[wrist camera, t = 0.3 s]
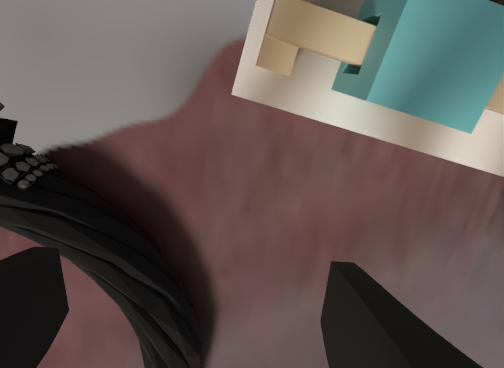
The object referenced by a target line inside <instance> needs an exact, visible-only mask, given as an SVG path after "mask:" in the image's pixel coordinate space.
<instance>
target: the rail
mask: <svg viewBox="0 0 504 368" xmlns="http://www.w3.org/2000/svg"><path fill="white" fill-rule="evenodd" d="M365 1H367V0H256V3H255V7H254V11H253V14H252V18H251V22H250V27H249V30H248V33H247V37H246V41H245V45H244V49H243V52H242V56H241V60H240V64H239V67H238V71H237V75H236V79H235V83H234V86H233V90H232V95H235V96H238V97H242V98H245V99H248V100H252V101H255V102H258V103H261V104H265V105H268V106H271V107H275V108H278V109H281V110H285V111H288V112H291V113H295V114H298V115H301V116H304V117H308V118H311V119H314V120H318V121H321V122H324V123H328V124H331V125H334V126H337V127H341V128H344V129H347V130H351V131H354V132H357V133H361V134H364V135H367V136H371V137H374V138H377V139H380V140H384V141H387V142H390V143H394V144H397V145H400V146H404V147H407V148H410V149H413V150H417V151H420V152H423V153H427V154H430V155H433V156H437V157H440V158H443V159H447V160H450V161H453V162H456V163H460V164H463V165H466V166H470V167H473V168H476V169H480V170H483V171H486V172H489V173H493V174H496V175H499V176H503V177H504V74H503V76H502V78H501V80H500V82H499V84H498V86H497V87H496V89H495V91H494V93H493V95H492V97H491V98H490V100H489V102H488V104H487V106H486V108H485V109H484V111H483V113H482V115H481V117H480V119H479V121H478V122H477V124H476V126H475V128H474V130H473V132H472V133H471V134H469V133H466V132H463V131H460V130H457V129H454V128H450V127H447V126H444V125H441V124H438V123H435V122H431V121H428V120H425V119H422V118H419V117H416V116H412V115H409V114H406V113H403V112H400V111H397V110H393V109H390V108H387V107H384V106H381V105H378V104H374V103H371V102H368V101H365V100H362V99H359V98H356V97H353V96H350V95H347V94H343V93H340V92H337V91H334V90H331V88H332V86H333V83H334V80H335V78H336V75H337V72H338V69H339V67H340V64H341V62H344V63H347V64H351V65H354V66H357V67H360V68H361V66H362V64H363V61H364V58H365V56H366V53H367V51H368V48H369V46H370V43H371V41H372V38H373V35H374V33H375V30H376V28H377V26H374V25H371V24H368V23H366V22H363V21H360V20H357V18H358V15H359V12H360V10H361V7H362V4H363V2H365Z"/></svg>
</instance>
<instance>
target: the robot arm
mask: <svg viewBox="0 0 504 368" xmlns="http://www.w3.org/2000/svg"><path fill="white" fill-rule="evenodd" d="M68 311H69V307H68V302H67V296H66V290H65V284H64V279H63V273H62V267H61V261H60V255H59V250H58V248H51V247H32V248H29V249H27V250H24V251H21V252H19V253H16V254H14V255H12V256H9V257H7V258H5V259H2V260H0V368H36V367H37V366H38V365H39V363H40V362H41V360H42V359H43V357H44V356H45V354H46V353H47V351H48V350H49V348H50V346H51V344H52V342H53V341H54V339H55V337H56V335H57V333H58V331H59V329H60V327H61V325H62V323H63V321H64V319H65V317H66V315H67V313H68ZM320 322H321V328H322V334H323V339H324V345H325V350H326V355H327V360H328V364H329V367H330V368H483V367H481V366H480V365H478V364H477V363H476V362H474V361H473V360H472V359H470V358H469V357H467V356H466V355H465V354H463V353H462V352H461V351H460V350H458V349H457V348H456V347H454V346H453V345H452V344H451V343H449V342H448V341H447V340H445V339H444V338H443V337H441V336H440V335H439V334H438V333H436V332H435V331H434V330H433V329H431V328H430V327H429V326H428V325H426V324H425V323H424V322H423V321H422V320H420V319H419V318H418V317H417V316H416V315H414V314H413V313H412V312H411V311H410V310H408V309H407V308H406V307H405V306H404V305H403V304H401V303H400V302H399V301H398V300H397V299H396V298H394V297H393V296H392V295H391V294H390V293H389V292H388V291H386V290H385V289H384V288H383V287H382V286H381V285H380V284H378V283H377V282H376V281H375V280H374V279H373V278H372V277H370V276H369V275H368V274H367V273H366V272H365V271H364V270H362V269H361V268H360V267H359V266H357V265H356V264H355V263H351V262H331V266H330V271H329V277H328V282H327V288H326V293H325V299H324V304H323V310H322V315H321V321H320Z"/></svg>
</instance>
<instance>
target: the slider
mask: <svg viewBox="0 0 504 368" xmlns="http://www.w3.org/2000/svg"><path fill="white" fill-rule="evenodd" d="M357 20H360V21H363V22H366V23H368V24H371V25H374V26H377V28H376V30H375V33H374V35H373V38H372V41H371V43H370V46H369V48H368V51H367V53H366V56H365V58H364V61H363V64H362V66H361V68H360V67H357V66H354V65H351V64H347V63H344V62H341V64H340V67H339V69H338V72H337V75H336V78H335V80H334V83H333V86H332V88H331V90H334V91H337V92H340V93H343V94H347V95H350V96H353V97H356V98H359V99H362V100H365V101H368V102H371V103H374V104H378V105H381V106H384V107H387V108H390V109H393V110H397V111H400V112H403V113H406V114H409V115H412V116H416V117H419V118H422V119H425V120H428V121H431V122H435V123H438V124H441V125H444V126H447V127H450V128H454V129H457V130H460V131H463V132H466V133H469V134H471V133H472V132H473V130H474V128H475V126H476V124H477V122H478V121H479V119H480V117H481V115H482V113H483V111H484V109H485V108H486V106H487V104H488V102H489V100H490V98H491V97H492V95H493V93H494V91H495V89H496V87H497V86H498V84H499V82H500V80H501V78H502V76H503V74H504V6H503V5H500V4H497V3H495V2H492V1H489V0H367V1H365V2H363V4H362V7H361V10H360V12H359V15H358V18H357Z"/></svg>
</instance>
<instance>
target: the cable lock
mask: <svg viewBox="0 0 504 368" xmlns="http://www.w3.org/2000/svg"><path fill="white" fill-rule="evenodd" d="M3 108H4V105H2V104H1V103H0V111H1V110H2V109H3ZM17 122H18V121H15V120H10V119H5V118H0V226H1V227H3V228H6V229H8V230H10V231H13V232H15V233H18V234H20V235H22V236H25V237H27V238H29V239H31V240H33V241H35V242H37V243H39V244H41V245H42V246H44V247H51V248H58V250H59V255H61V256H63V257H65V258H67V259H69V260H70V261H71V262H72V263H74V264H75V265H76V266H77V267H79V268H80V269H81V270H82V271H84V272H85V273H86V274H87V275H89V276H90V277H91V278H92V279H93V280H94V281H95V282H96V283H97V284H98V285H99V286H100V287H101V288H102V289H103V290H104V291H105V292H106V293H107V294H108V295H109V296H110V297H111V298H112V299H113V300H114V301H115V302H116V303H117V304H118V305H119V307H120V308H121V310H122V312H123V313H124V315H125V316H126V318H127V319H128V321H129V322H130V324H131V325H132V327H133V329H134V331H135V333H136V335H137V337H138V339H139V343H140V348H141V352H142V357H143V361H144V366H145V368H200V356H199V355H200V350H201V346H202V343H201V339H200V335H199V331H198V327H197V323H196V319H195V315H194V312H193V311H192V304H191V302H190V300H189V298H188V296H187V293H186V291H185V289H184V287H183V285H182V283H181V281H180V279H179V277H178V276H177V275H176V274H175V273H174V271H173V270H172V269H171V268H170V267H169V266H168V264H167V263H166V262H165V261H164V260H163V258H162V256H161V254H160V252H159V251H158V249H157V247H156V245H155V243H154V241H153V240H152V239H151V238H150V237H149V236H148V235H147V234H145V233H144V232H143V231H142V230H141V229H140V228H139V227H138V226H136V225H135V224H134V223H133V222H132V221H131V220H129V219H128V218H127V217H126V216H125V215H124V214H122V213H121V212H119V211H118V210H116V209H115V208H114V207H112V206H111V205H109V204H108V203H106V202H105V201H103V200H102V199H101V198H99V197H98V196H97V195H96V194H95V193H94V192H92V191H91V190H90V189H88V188H86V187H84V186H82V185H81V184H79V183H77V182H75V181H73V180H71V179H69V178H67V177H65V176H63V175H61V174H59V173H57V171H59V170H58V169H59V167H58V166H57V165H55V164H48V163H47V162H51V161H49V160H48V159H47V158H45V157H44V156H43V155H38V154H37V155H35V156H34V155H32V153H35V151H34V150H33V149H32V148H30V147H29V146H25V145H22V144H17V143H16V145H14V144H12V143H13V139H14V134H15V131H16V126H17Z"/></svg>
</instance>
